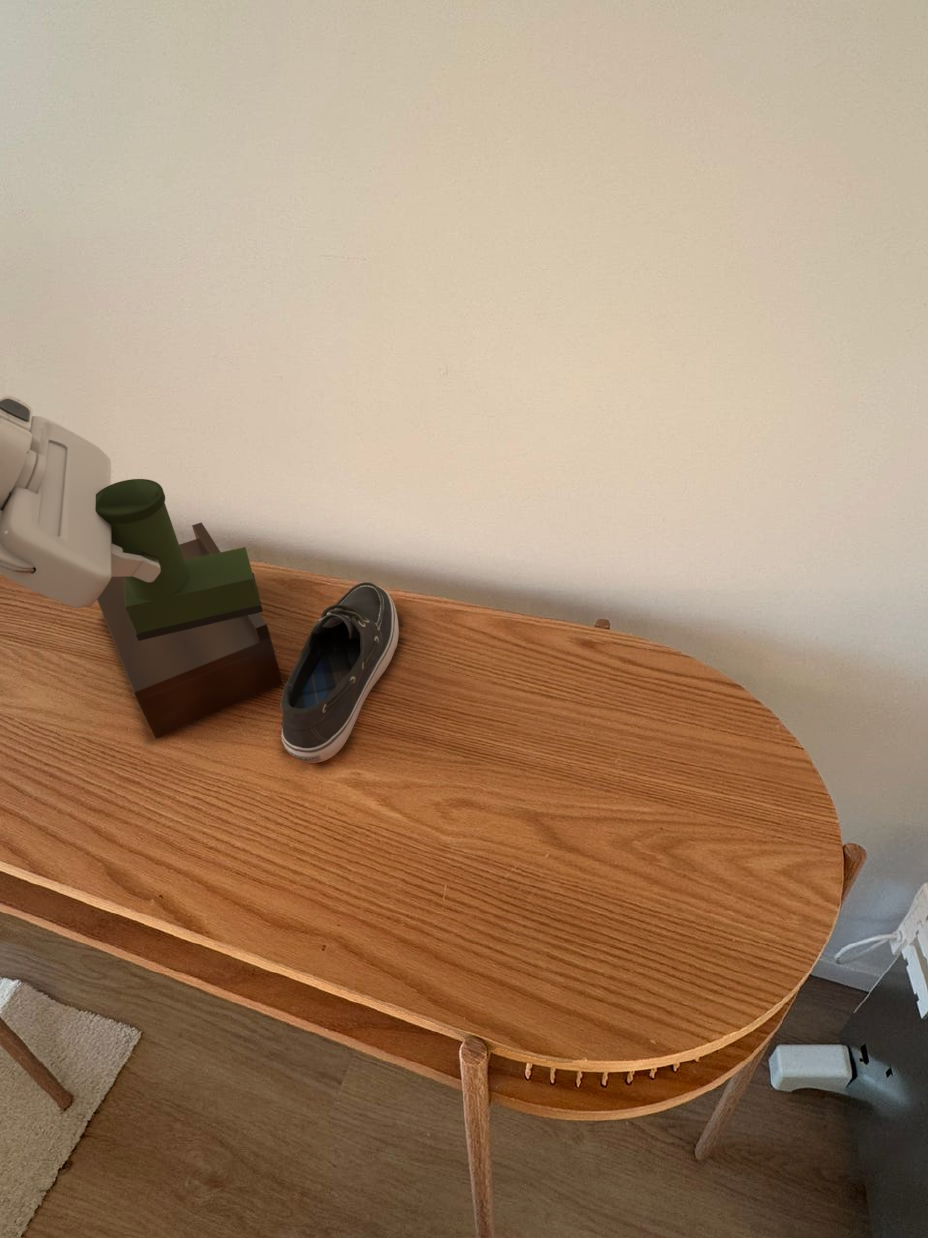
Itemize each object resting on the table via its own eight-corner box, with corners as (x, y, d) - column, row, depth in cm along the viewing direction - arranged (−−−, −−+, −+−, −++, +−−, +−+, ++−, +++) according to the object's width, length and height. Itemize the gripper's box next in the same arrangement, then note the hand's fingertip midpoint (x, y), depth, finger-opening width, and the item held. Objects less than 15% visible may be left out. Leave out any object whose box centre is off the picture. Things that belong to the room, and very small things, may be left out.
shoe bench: (155, 738, 75) (127, 678, 69) (107, 619, 89) (80, 560, 83) (283, 684, 81) (267, 623, 75) (219, 579, 95) (201, 522, 89)
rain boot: (138, 642, 66) (86, 522, 57) (136, 604, 70) (87, 486, 61) (263, 612, 69) (231, 494, 60) (254, 577, 73) (224, 461, 64)
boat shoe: (348, 597, 92) (340, 542, 86) (416, 609, 90) (412, 553, 84) (254, 756, 73) (235, 700, 68) (336, 774, 72) (324, 718, 66)
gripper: (-17, 514, 47) (183, 595, 56) (13, 386, 61) (167, 467, 70) (-60, 584, 49) (140, 652, 57) (-22, 443, 63) (133, 515, 72)
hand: (155, 549), depth 64 cm, fingers closed on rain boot, 5 cm apart
